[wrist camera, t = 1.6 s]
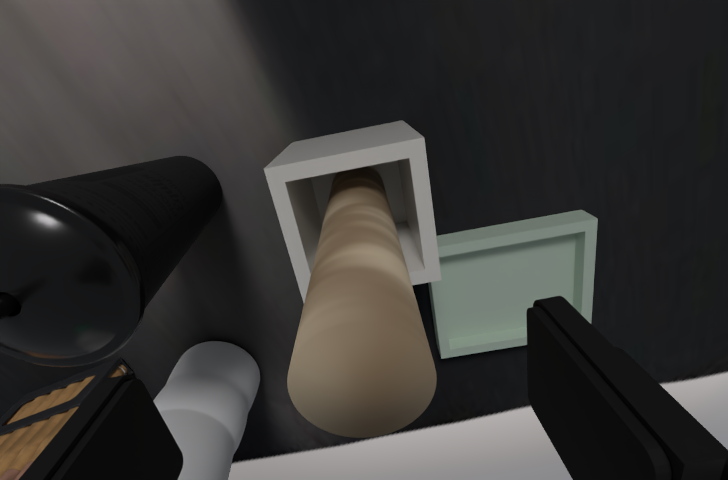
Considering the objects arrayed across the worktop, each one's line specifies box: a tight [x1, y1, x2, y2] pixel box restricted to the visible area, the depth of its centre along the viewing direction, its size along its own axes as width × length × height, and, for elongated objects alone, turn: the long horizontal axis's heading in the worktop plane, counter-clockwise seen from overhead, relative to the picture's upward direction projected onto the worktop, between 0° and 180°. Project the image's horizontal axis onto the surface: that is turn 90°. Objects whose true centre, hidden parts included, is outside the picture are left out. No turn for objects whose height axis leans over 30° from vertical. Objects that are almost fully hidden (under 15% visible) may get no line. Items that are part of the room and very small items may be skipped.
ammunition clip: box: [0, 358, 133, 480], centre depth 27 cm, size 11×2×12 cm, turn 113°
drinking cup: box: [0, 156, 221, 367], centre depth 17 cm, size 8×8×20 cm
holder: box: [264, 120, 442, 303], centre depth 23 cm, size 8×8×8 cm
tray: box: [428, 210, 598, 359], centre depth 29 cm, size 12×10×2 cm
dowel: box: [287, 166, 437, 438], centre depth 17 cm, size 4×4×18 cm
